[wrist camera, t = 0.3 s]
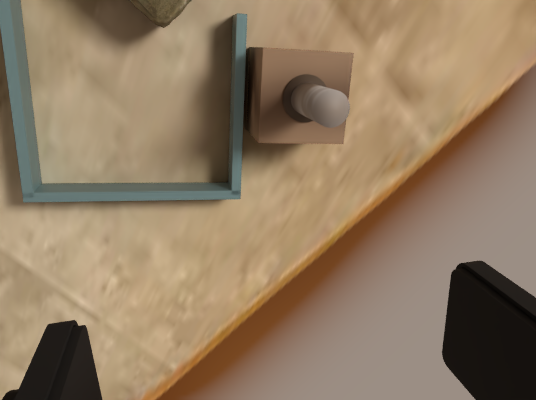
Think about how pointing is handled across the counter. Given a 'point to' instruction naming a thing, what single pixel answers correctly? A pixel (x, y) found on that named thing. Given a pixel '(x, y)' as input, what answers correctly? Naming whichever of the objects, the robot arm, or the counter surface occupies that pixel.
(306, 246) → the counter surface
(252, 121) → the block with knob
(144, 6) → the stone block
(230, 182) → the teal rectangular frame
